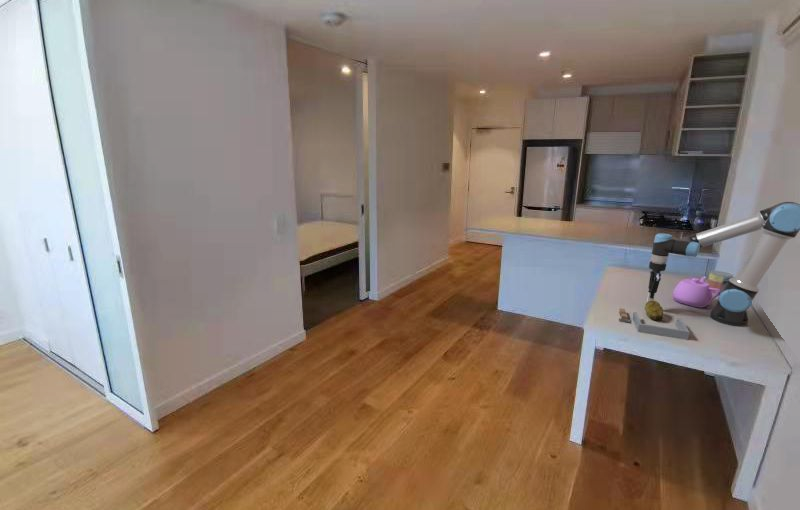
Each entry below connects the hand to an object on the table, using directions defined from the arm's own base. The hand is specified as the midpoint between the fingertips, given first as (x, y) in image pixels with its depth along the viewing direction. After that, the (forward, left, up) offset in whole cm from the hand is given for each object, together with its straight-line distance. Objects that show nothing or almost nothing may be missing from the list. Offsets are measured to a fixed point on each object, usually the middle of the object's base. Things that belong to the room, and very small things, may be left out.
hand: (649, 302), depth 208 cm
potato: (0, +10, -5) cm, 11 cm away
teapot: (-25, -23, -5) cm, 34 cm away
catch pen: (0, +25, -4) cm, 25 cm away
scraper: (+14, +17, -4) cm, 23 cm away
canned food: (-46, -53, -5) cm, 70 cm away
